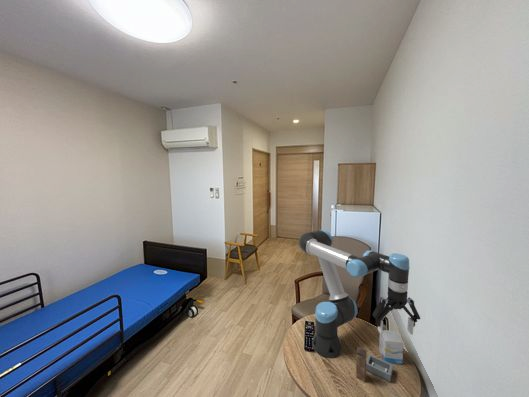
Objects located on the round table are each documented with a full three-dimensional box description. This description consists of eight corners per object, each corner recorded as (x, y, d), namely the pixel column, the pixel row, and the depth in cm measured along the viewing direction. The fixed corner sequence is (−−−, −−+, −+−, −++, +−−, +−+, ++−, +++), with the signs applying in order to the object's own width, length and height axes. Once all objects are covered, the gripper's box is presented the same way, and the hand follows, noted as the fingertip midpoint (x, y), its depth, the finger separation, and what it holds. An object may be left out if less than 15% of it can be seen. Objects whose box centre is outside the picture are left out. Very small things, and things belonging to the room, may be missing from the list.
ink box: (403, 364, 105) (403, 342, 104) (384, 362, 106) (384, 340, 105) (396, 351, 113) (396, 330, 112) (378, 349, 115) (379, 328, 114)
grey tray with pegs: (365, 370, 102) (365, 363, 102) (368, 360, 108) (368, 353, 108) (390, 382, 96) (390, 375, 95) (392, 371, 101) (392, 364, 101)
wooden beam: (356, 378, 98) (356, 352, 97) (358, 372, 101) (358, 347, 100) (364, 382, 96) (364, 355, 95) (366, 376, 99) (366, 350, 98)
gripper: (373, 293, 92) (371, 338, 94) (432, 293, 91) (428, 338, 93) (365, 284, 99) (364, 326, 101) (420, 284, 98) (417, 326, 100)
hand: (395, 332), depth 97 cm, fingers open, 13 cm apart
